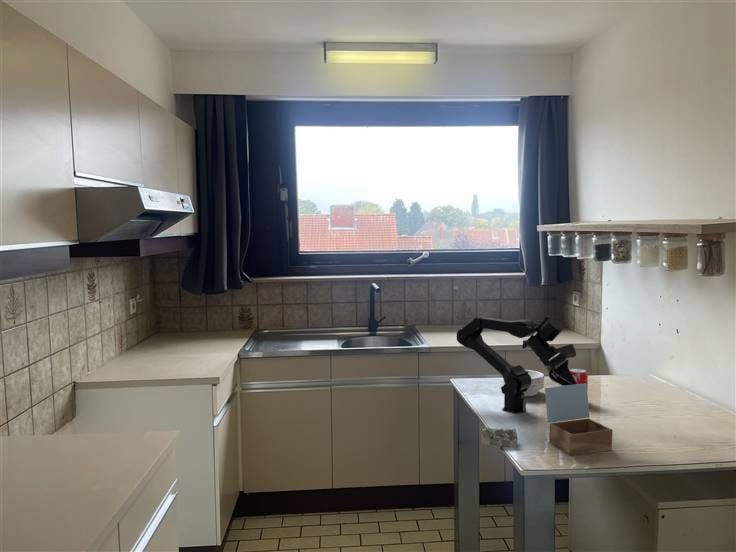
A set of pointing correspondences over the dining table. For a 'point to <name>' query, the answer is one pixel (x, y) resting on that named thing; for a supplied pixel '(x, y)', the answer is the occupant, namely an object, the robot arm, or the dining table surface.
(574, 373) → the soda can
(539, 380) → the paper bowls
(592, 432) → the walnut box
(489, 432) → the egg carton
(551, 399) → the box lid
